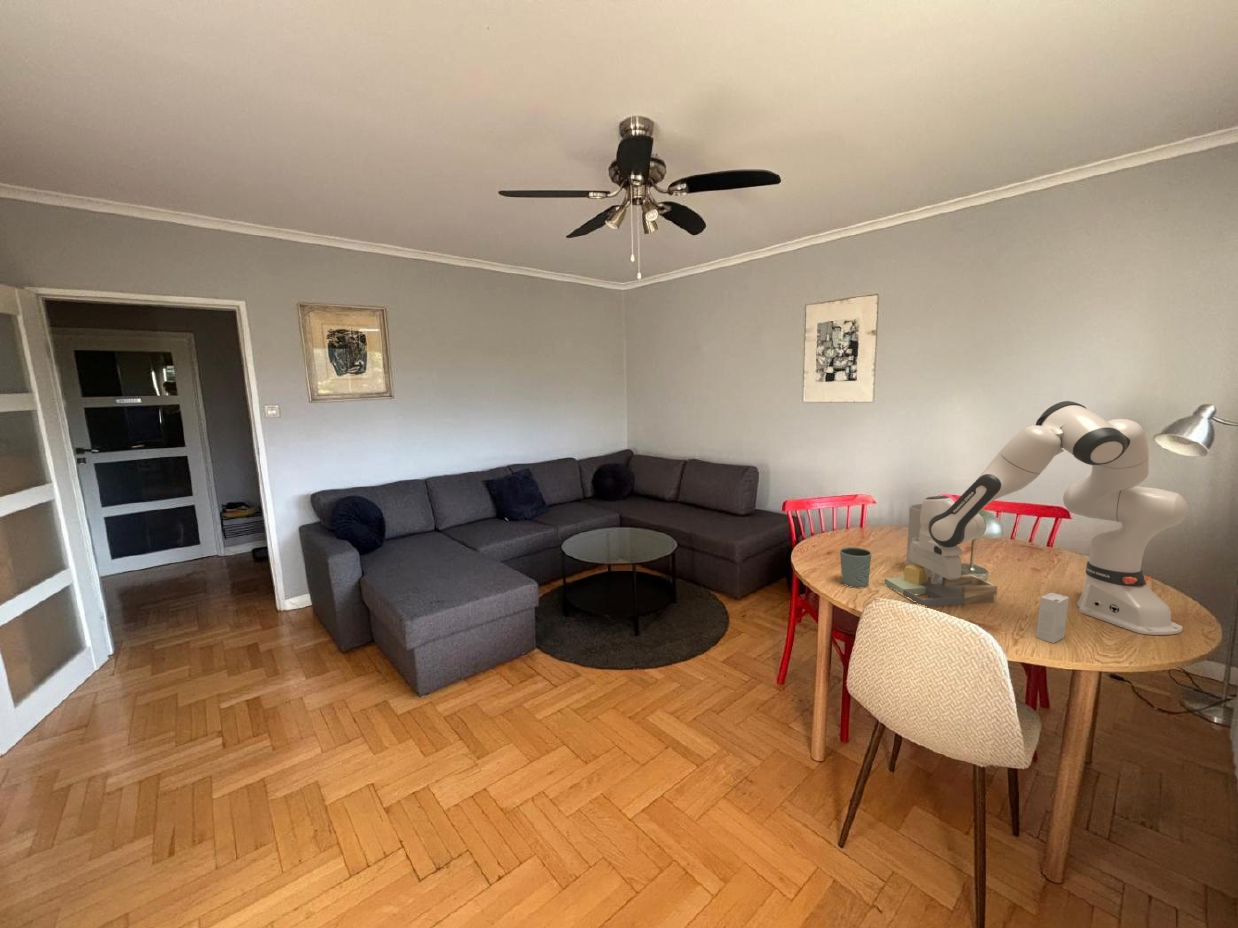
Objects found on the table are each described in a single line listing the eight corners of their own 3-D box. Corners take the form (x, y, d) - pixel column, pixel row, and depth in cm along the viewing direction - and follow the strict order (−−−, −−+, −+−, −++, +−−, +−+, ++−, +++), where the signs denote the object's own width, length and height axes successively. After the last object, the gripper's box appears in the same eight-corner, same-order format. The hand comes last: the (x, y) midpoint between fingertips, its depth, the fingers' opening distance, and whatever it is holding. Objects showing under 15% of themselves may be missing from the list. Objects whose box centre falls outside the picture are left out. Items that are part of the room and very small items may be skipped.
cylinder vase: (906, 565, 194) (909, 502, 190) (944, 569, 188) (948, 505, 184) (906, 575, 183) (909, 510, 179) (946, 581, 177) (950, 513, 173)
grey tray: (996, 601, 159) (996, 594, 159) (921, 607, 157) (922, 600, 156) (951, 579, 178) (951, 573, 177) (884, 584, 175) (884, 578, 175)
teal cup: (873, 589, 172) (875, 556, 170) (842, 588, 174) (843, 555, 172) (865, 578, 181) (866, 547, 180) (836, 577, 183) (837, 546, 182)
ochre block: (926, 581, 171) (927, 568, 170) (918, 585, 168) (919, 570, 168) (912, 577, 175) (913, 563, 174) (903, 580, 173) (904, 566, 172)
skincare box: (1045, 631, 139) (1049, 591, 138) (1065, 638, 135) (1070, 596, 134) (1034, 637, 136) (1038, 596, 135) (1055, 644, 133) (1059, 601, 131)
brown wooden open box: (996, 601, 159) (997, 586, 158) (964, 604, 158) (965, 588, 157) (970, 589, 169) (971, 574, 169) (940, 591, 168) (941, 576, 168)
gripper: (904, 535, 175) (902, 572, 177) (948, 553, 155) (945, 595, 157) (921, 533, 176) (918, 571, 178) (966, 552, 156) (963, 593, 158)
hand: (931, 582), depth 167 cm, fingers closed
